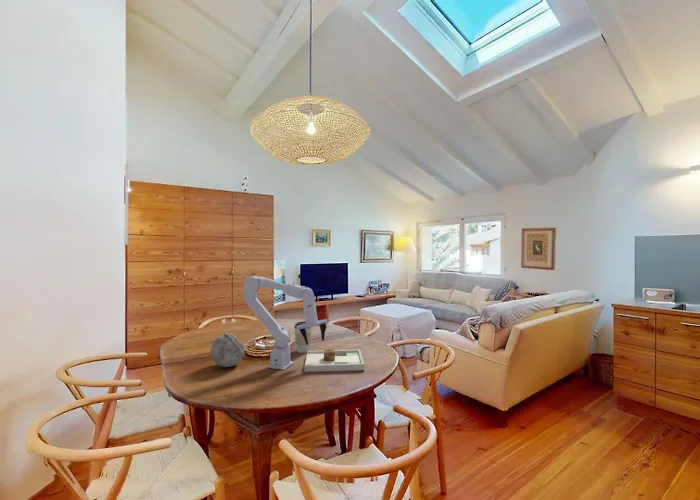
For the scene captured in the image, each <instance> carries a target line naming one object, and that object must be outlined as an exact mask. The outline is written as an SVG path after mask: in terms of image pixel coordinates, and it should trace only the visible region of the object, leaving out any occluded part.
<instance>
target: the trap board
mask: <svg viewBox="0 0 700 500" xmlns="http://www.w3.org/2000/svg"><path fill="white" fill-rule="evenodd" d="M362 355H363V354H362V352H361V349H335V361H324V349H322V350H310V351H307V354H306V357H305V358H306V359H305V362H304V365H303V373H305V374H307V373H333V372H334V373H339V372H340V373H342V372H346V373H347V372H364V371H365V363H364V358H363V356H362Z"/></svg>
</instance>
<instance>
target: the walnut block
mask: <svg viewBox="0 0 700 500" xmlns="http://www.w3.org/2000/svg"><path fill="white" fill-rule="evenodd" d="M323 350H324V361H335V350H336V349H335V348H325V349H323Z"/></svg>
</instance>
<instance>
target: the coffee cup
mask: <svg viewBox="0 0 700 500" xmlns="http://www.w3.org/2000/svg"><path fill="white" fill-rule="evenodd" d="M305 323H306V321H298V322H296V324H294V327H293V328H294V336H295V337H294V338H295V345H296V352H297V353H300V354H306V353H307V351H311V343H312V328H313V327H311V328H307V329H305V330H306V335H307V341H308V345H306V342H305V339H304V337H303V335H302V334H301V332H300V331H297V327H296V326H299V325H302V324H305Z"/></svg>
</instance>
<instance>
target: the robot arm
mask: <svg viewBox="0 0 700 500" xmlns="http://www.w3.org/2000/svg"><path fill="white" fill-rule="evenodd" d="M264 288H271V289H275V290H278V291H283V292H284V293H285V295H286V296H290V297H293V298H295V299H301V300H302V307H303V315H304V320H305V321H306V323H305V324H302V325H299V326H296V327H297V331H300V332H301V334H302V335H303V337H304V339H305V342H306V345H308V341H307V335H306V330H305V329H307V328H311V327H312V328H314V327H319V330H320V335H321V336H320V337H321V340H322V342H324V341H325V335H326V330H327V325H328V324H329V323H328V322H329V321H328V319H327V318H325V319H319V320H318V313H317V306H316V303H315V294H314V291H313V290H312V288H310V287H308V286H307V287H306V286H305V285H303V286H302V285H298V284H296V283H295V282H294V281H293V282H289V283H287V284H285V283H282V282H280V281H278V280H274V279H271V278H268V277H263V276H258V275H254V274H253V275H250V276H249V277H247V278H246V279H245V280H244V284H243V287H242V289H243V299H244V302H245V304H246V305H247V306H248V307H249V308H250V310H251V311H252V312H253V313H254V314H255V316H256V317H257V318H258V319H259V320H260V321H261V323H262V325H264V327H265V328H266V329H267V330H268V331H269V333H270V336H271V337H272V338H273V340H274V346H273V349H272V350H271V352H270V354H269V355H270V357H269V358H270V360H269V363H270V365H269V366H268V368H269V369H276V370H283V371H284V370H286V369H288V368H289V367H290V366H291V365H293V364H294V363H295V362H294V360H293V361H291V342H290V331H289V330H288V329H286V328H284V327H283V326H282V325H281V324H279V323H278V321H276V319H275V318H274V317H273V316H272V315H271V313H270V312H269V311H268V309H267V308H266V307H265V306H264V305H263V303H262V302H261V301H260V300H259V299H258V298H257V296H258V290H259V289H264ZM312 328H311V329H312Z"/></svg>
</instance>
